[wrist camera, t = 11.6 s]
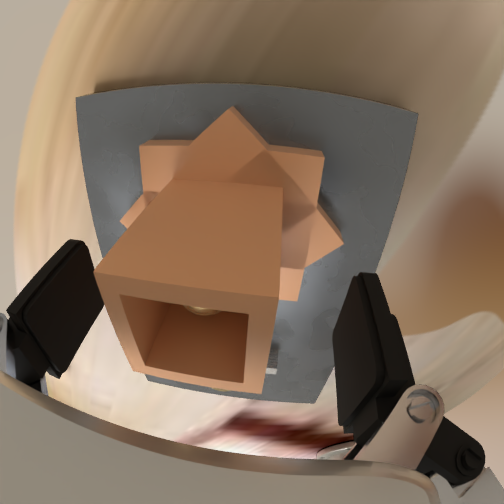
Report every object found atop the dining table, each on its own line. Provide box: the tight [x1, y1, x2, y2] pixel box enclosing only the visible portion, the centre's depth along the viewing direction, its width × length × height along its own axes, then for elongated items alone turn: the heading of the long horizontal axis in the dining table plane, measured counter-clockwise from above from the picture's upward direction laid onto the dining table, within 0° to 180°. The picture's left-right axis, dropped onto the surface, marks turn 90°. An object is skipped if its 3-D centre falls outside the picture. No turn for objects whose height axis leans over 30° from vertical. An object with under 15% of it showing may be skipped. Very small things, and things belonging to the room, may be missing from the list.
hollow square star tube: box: [93, 106, 344, 394], centre depth 10 cm, size 10×10×7 cm
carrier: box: [76, 83, 418, 403], centre depth 15 cm, size 15×23×7 cm, turn 177°
